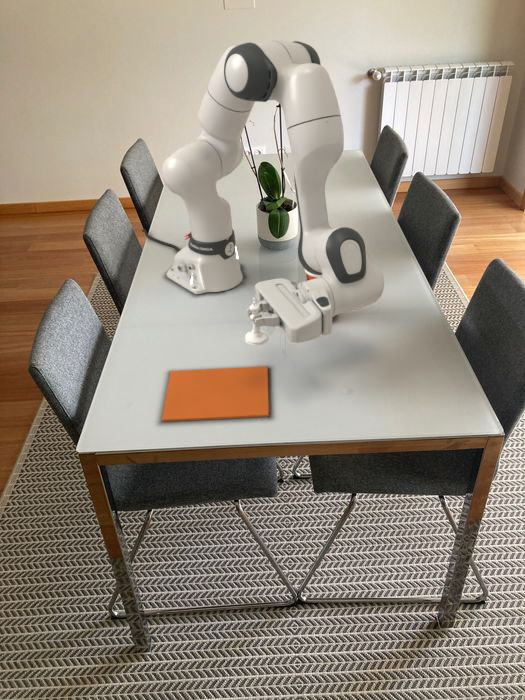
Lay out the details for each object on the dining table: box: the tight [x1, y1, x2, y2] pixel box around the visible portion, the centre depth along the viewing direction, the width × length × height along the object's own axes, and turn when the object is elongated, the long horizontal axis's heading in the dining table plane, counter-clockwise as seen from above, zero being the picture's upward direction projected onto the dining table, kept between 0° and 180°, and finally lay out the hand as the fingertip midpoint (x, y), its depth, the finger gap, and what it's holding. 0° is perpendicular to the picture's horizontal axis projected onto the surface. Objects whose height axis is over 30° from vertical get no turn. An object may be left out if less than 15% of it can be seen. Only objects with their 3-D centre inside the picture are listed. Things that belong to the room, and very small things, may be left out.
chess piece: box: [244, 297, 269, 347], centre depth 123 cm, size 5×5×10 cm
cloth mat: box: [161, 366, 270, 422], centre depth 129 cm, size 22×16×1 cm
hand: (251, 318), depth 122 cm, fingers closed on chess piece
